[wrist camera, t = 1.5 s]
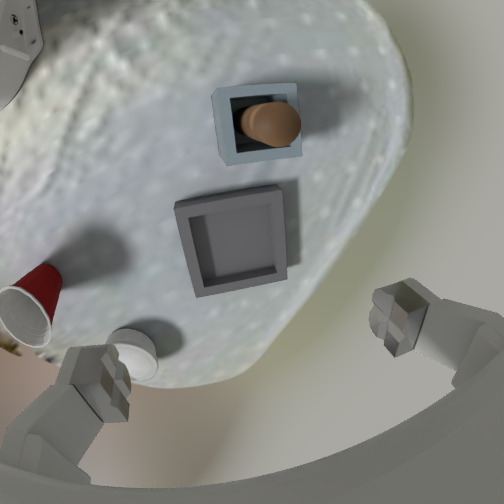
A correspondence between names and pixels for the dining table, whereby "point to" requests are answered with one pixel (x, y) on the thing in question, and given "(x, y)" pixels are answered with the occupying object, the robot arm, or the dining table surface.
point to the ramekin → (135, 353)
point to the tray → (233, 239)
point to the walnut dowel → (268, 123)
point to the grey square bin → (242, 147)
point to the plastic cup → (31, 305)
